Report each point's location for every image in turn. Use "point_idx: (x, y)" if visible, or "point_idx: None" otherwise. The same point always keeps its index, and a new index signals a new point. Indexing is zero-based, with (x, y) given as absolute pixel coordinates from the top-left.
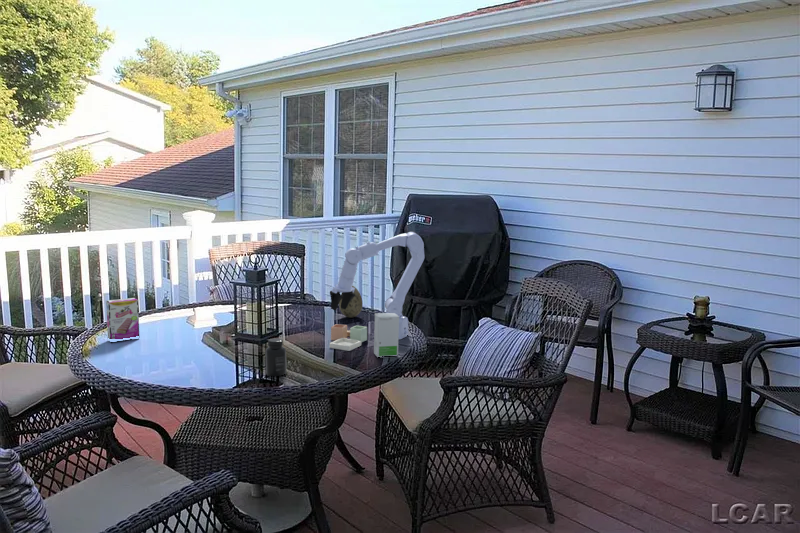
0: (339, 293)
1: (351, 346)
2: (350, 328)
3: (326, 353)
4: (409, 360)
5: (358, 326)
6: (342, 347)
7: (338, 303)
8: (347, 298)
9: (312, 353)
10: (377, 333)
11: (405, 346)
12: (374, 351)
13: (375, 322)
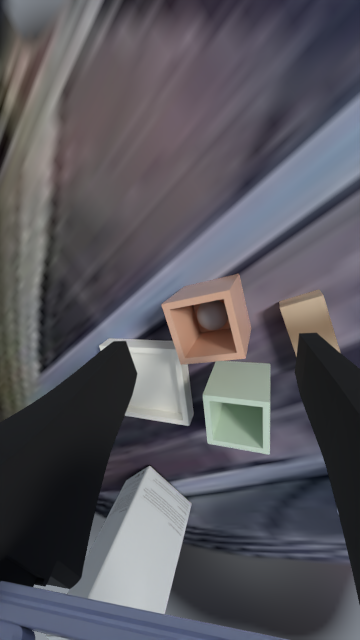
0: (30, 582)
1: (129, 413)
2: (203, 395)
3: (68, 358)
4: None
5: (263, 413)
6: None
7: (106, 442)
8: (348, 496)
9: (41, 325)
10: (90, 551)
11: (263, 525)
12: (139, 475)
13: (83, 586)
